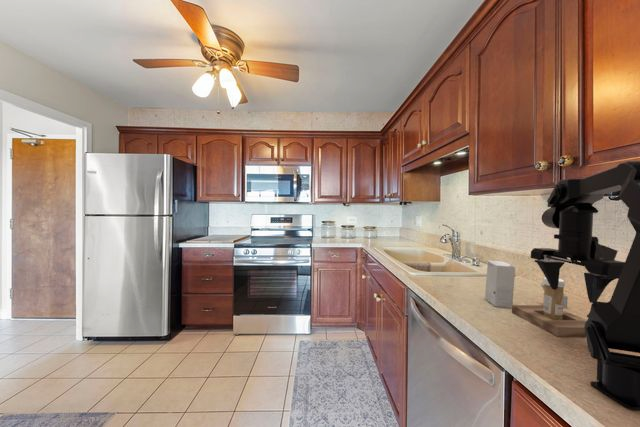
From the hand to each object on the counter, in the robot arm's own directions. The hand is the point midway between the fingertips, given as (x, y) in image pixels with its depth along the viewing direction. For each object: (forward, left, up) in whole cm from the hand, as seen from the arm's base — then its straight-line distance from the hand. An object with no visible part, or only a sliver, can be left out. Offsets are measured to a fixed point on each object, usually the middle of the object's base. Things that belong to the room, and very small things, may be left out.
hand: (572, 295), depth 63 cm
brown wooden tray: (+14, -9, -13) cm, 21 cm away
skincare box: (+30, -4, -13) cm, 33 cm away
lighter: (+28, -22, -13) cm, 38 cm away
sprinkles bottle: (+14, -8, -13) cm, 21 cm away
